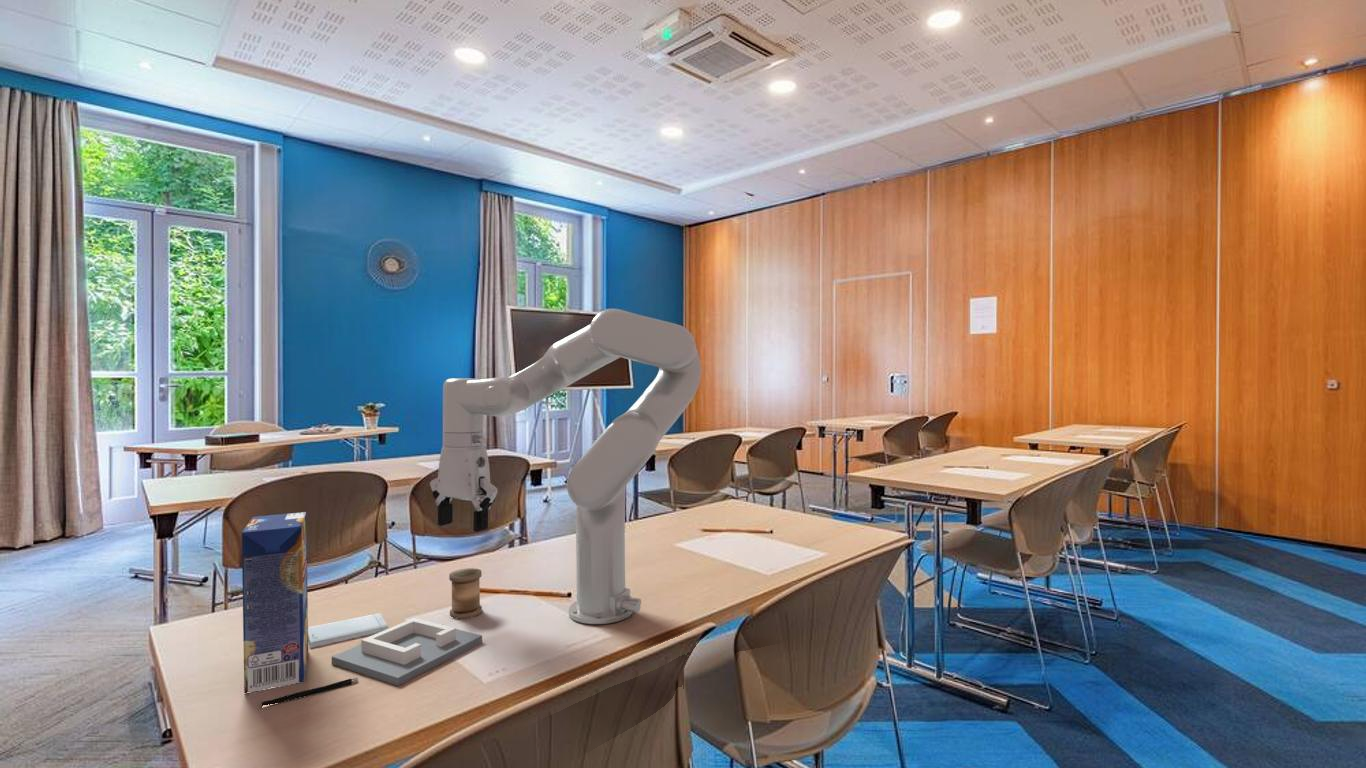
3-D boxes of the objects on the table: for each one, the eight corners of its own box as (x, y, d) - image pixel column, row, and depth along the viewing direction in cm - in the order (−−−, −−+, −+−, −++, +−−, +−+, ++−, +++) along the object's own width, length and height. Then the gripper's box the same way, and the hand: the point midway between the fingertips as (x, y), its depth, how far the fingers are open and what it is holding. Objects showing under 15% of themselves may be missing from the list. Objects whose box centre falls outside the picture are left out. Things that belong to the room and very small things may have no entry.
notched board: (482, 642, 108) (482, 624, 108) (397, 685, 93) (397, 664, 93) (419, 626, 115) (419, 609, 115) (331, 663, 100) (331, 644, 100)
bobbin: (488, 610, 123) (488, 570, 123) (465, 621, 117) (464, 579, 117) (466, 605, 125) (466, 566, 125) (443, 616, 120) (442, 575, 120)
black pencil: (357, 682, 95) (357, 675, 95) (358, 684, 94) (358, 678, 94) (261, 707, 88) (261, 700, 88) (261, 710, 87) (261, 703, 87)
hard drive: (309, 642, 106) (388, 624, 113) (305, 626, 113) (379, 611, 120) (309, 651, 106) (388, 633, 113) (305, 635, 113) (380, 619, 120)
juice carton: (303, 682, 94) (301, 526, 94) (244, 694, 91) (241, 532, 90) (308, 652, 105) (306, 511, 104) (255, 662, 101) (253, 516, 101)
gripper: (509, 441, 120) (509, 528, 121) (447, 436, 128) (446, 518, 129) (481, 445, 114) (480, 537, 114) (416, 440, 122) (416, 526, 122)
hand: (462, 527), depth 121 cm, fingers open, 9 cm apart
